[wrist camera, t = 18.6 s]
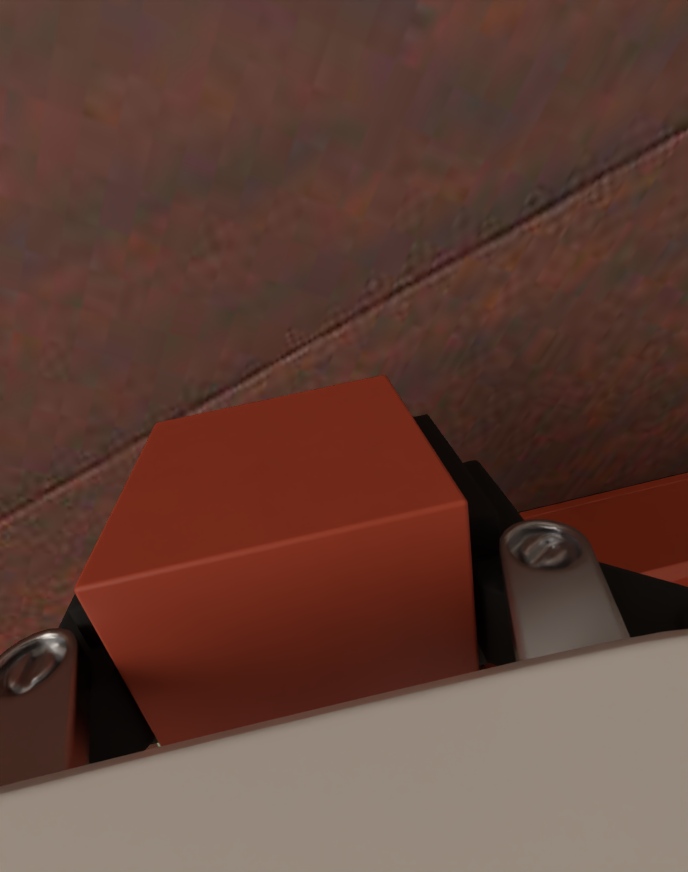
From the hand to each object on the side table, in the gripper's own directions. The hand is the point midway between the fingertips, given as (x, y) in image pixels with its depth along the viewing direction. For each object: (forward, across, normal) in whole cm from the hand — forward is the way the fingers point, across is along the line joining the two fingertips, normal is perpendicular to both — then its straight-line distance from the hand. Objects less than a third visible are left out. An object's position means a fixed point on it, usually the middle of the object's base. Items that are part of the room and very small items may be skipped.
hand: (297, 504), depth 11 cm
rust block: (0, 0, 0) cm, 0 cm away
